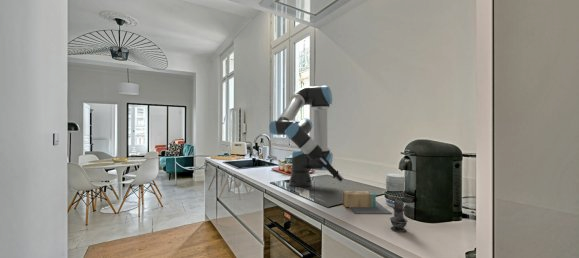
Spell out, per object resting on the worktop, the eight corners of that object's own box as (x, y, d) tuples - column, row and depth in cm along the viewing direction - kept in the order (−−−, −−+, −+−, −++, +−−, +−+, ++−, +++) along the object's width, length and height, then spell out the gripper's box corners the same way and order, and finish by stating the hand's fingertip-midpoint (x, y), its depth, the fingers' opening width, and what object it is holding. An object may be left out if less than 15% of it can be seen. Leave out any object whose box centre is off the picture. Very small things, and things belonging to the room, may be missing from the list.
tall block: (342, 191, 119) (371, 191, 119) (342, 203, 119) (371, 203, 119) (345, 194, 113) (375, 194, 113) (345, 207, 113) (375, 207, 113)
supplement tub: (392, 201, 125) (392, 172, 125) (410, 205, 118) (411, 175, 118) (382, 204, 119) (382, 174, 119) (401, 209, 112) (401, 177, 112)
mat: (342, 199, 127) (342, 198, 127) (373, 199, 127) (373, 199, 127) (354, 213, 105) (354, 212, 105) (391, 213, 105) (391, 213, 105)
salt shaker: (392, 225, 92) (392, 193, 92) (409, 229, 88) (409, 196, 89) (387, 230, 88) (387, 196, 88) (405, 234, 84) (405, 199, 84)
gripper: (304, 153, 122) (337, 187, 122) (307, 156, 109) (343, 193, 109) (315, 143, 123) (347, 176, 123) (318, 144, 110) (355, 182, 110)
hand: (345, 184), depth 116 cm, fingers closed
